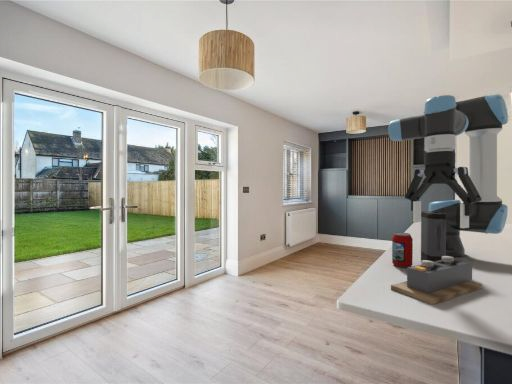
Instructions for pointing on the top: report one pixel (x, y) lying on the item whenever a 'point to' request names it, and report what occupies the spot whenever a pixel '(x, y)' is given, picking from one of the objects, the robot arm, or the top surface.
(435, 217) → the electronic device
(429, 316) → the top surface
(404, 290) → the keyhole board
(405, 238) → the beverage can
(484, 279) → the top surface
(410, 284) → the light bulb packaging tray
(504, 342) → the top surface
